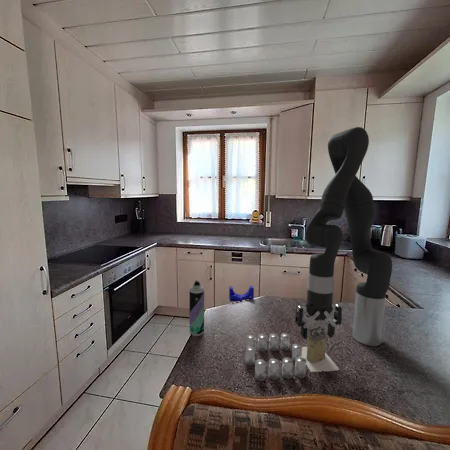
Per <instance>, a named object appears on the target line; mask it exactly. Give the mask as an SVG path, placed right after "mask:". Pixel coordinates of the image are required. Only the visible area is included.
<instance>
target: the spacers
mask: <svg viewBox="0 0 450 450" xmlns="http://www.w3.org/2000/svg"><path fill="white" fill-rule="evenodd" d="M290 339H291V337H290V334H289V333H287V332H283V333H280V345H279V335H278V334H277V333H270V334H269V339H268V335H266V334H264V333H260V334H259V333H258V335H257V351H259V352H266V351H267V346H268V348H269V349H268V350H270V351H272V352H277V351H278V350H279V347H280V349H281V350H282V351H289V350H290V341H291V340H290ZM245 341H246V342H245V356H244V357H245V361H244V362H245V365H247V366H250V367H251V366H254V378H255V380H257V381H259V382H262V381H264V380H265V379H266V371H268V375H267V376H268V378H269V380H274V381H276V380H279V377H280V360H278V359H277V358H270V359H268V370H267V369H266V367H267V363H266V361H265V360H264V359H259V358H258V359H256V336H255V335H254V334H247V335H246V337H245ZM267 344H268V345H267ZM302 347H303V346H302V345H300V343H293V344H292V345H291V358H290V357H283V358H282V361H281V377H283V378H284V379H286V378H287V379H286V380H291V379H292V378H293V367H294V375H295V376H296V377H297V378H300V379H304V378H306V375H307V374H306V370H307V366H306V360H305V359H304V358H302V357H301V356H302ZM293 361H294V362H293ZM294 364H295V365H294ZM290 378H291V379H290Z"/></svg>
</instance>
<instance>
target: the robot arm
mask: <svg viewBox="0 0 450 450" xmlns="http://www.w3.org/2000/svg"><path fill="white" fill-rule="evenodd" d="M369 144H370V139H369V135H368V132H367V130H366V129H364V127H361V126H360V127H359V126H356V127H353V128H349V129H345V130H343V131H340V132H337V133H334V134H332V135H331V136H330V137H329V138H328V141H327V153H328V156H329V160H330V162H331V165H332V168H333V171H334V176H333V177H332V178H331V179H330V181H329V182H328V184H327V185H326V187H325V188H324V190H323V193H322V195H321V200H320V203H319V205H318V206H319V207H318V208H317V210H316V212H315V214H314V215H313V217H312V218H311V220H310V222H309V224H308V225H307V226H306V230H305V233H304V235H305V236H304V238H305V242H306V243H307V244H308V245H311V246H313V247H314V246H315V247H320V248H324V249H325V250H324V252H323V253H315V254H311V256H309V257H310V258H309V268H308V269H309V270H308V271H309V272H308V277H307V288H306V289H307V290H306V291H307V292H306V305H305V306H303V305H300V304H297V305H296V309H295V317H294V323H295V324H296V326H297V327H298V328H300V335H301V337H302V338H303V339H304V340H308V327H309V325H310V324H312V323H313V322H314V321H325V320H326V321H327V322H328V323H327V332H326V336H328V337H329V338H331V339H332V338H333V337H334V336H335V329H336V328H335V327H336V326H338V325H339V326H340V325H342V312H343V308H342V306H340V304H338V303H334V304H333V300H334V289H335V288H334V287H335V285H334V284H335V282H334V278H335V277H334V276H335V275H334V272H335V262H336V258H337V256H338V252H339V250H340V247H341V245H342V242H343V240H344V234H343V230H342V229H341V227H339V226H338V225H335V224H327V223H328V222H331V221H336V220H339V219H341V218H342V216H343V213H344V214H345V215H344V216H345V219H346V222H347V226H348V231H349V236H350V237H349V238H350V242H351V243H350V244H351V252H352V254H351V255H352V260H353V264H354V267H355V269H356V270H357V271H358V272H360V273H363V274H365V275H367V277H366V281H364V282H363V281H362V282H359V283H357V285H356V289H355V301H354V313H353V314H354V315H353V323H352V324H353V327H352V338H353V339H354V340H355V341H356V342H358V343H360V344H363V345H365V346H369V347H377V346H380V345H382V344H384V343H385V335H386V327H387V317H386V316H385V307H386V299H387V298H386V297H387V292H388V291H389V289H390V284H391V280H392V279H391V278H392V272H393V271H392V270H393V260H392V258H391V256H390V254H388V253H386V252H383V251H381V250H376V249H374V248H373V245H372V242H371V236H370V235H371V230H372V226H373V225H374V221H375V219H376V214H377V213H376V206H375V203H374V197H373V195H372V192H371V191H370V189H369V188H368V187H367V185H365V184H364V183H363V182H362V180H360V179H359V177H358V176H357V174H358V171H359V169H360V167H361V165H362V162H363V161H364V158H365V156H366V154H367V151H368V149H369ZM305 312H306V313H305ZM332 312H333V318H332V316H331V315H330V314H331V313H332Z"/></svg>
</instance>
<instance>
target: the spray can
mask: <svg viewBox="0 0 450 450" xmlns="http://www.w3.org/2000/svg"><path fill="white" fill-rule="evenodd" d="M204 333H205V286H204V285H202V284H201V283H200V281H199V280H194V283H193V284H192V285H191V286H190V287H189V335H191V334H192V335H191V336H194V337H200V336H202V335H204Z"/></svg>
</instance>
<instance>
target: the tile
mask: <svg viewBox="0 0 450 450" xmlns="http://www.w3.org/2000/svg"><path fill="white" fill-rule="evenodd" d="M306 356H307V346H302V356H301V357H302V358H304V359H305V360H306V365H307V366H306V368H307V369H308V371H309V370H310V371H309V372H310V373H322V371H324V372H335V371H336V372H337V371H338V370H339V371H340V368H339V367H338V366H337V365H336V364H335V362H334V361H333V360H332V359H331V357H330V356H329V355H328V354H327V352H325V358H323V359H322V360H321V361H317V362H310V361H309V360H307V358H306Z"/></svg>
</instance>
